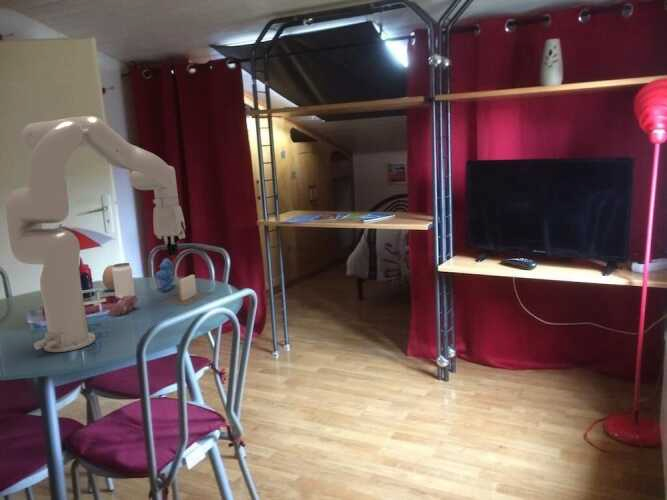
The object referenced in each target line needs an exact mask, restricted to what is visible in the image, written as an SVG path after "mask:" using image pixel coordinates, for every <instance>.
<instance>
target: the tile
mask: <svg viewBox="0 0 667 500" xmlns="http://www.w3.org/2000/svg"><path fill="white" fill-rule="evenodd" d="M195 276H196V275H195V274H190V275H188V276H185V277H183V278H180V279H178V280H177V284H178V292H179V293H178V294H179V295H180V301H184V300H186V299H188V298H190V297H192V296H194V295H196V294H197V293H196V291H197V287H196V285H197V283H196V277H195Z"/></svg>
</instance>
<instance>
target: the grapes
mask: <svg viewBox="0 0 667 500" xmlns="http://www.w3.org/2000/svg"><path fill="white" fill-rule="evenodd" d="M173 265H174V264H173V262H172V261H171V260H170V259H169V258H167V257H166V258H163V259H162V260H161V263H160V264H159V269H160V270H159V271H156V273H155V274H154V277H155V278H156V279H157V280H160V281H158V284H159V285H160V286H161V287H160V288H161V290H162V291H163V292H168V291H169V290H171V289H172V288H173V283H174V281H175V279H174V277H173V276H174V273H175V270H174V268H173V267H172V266H173Z"/></svg>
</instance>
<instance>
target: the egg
mask: <svg viewBox="0 0 667 500" xmlns="http://www.w3.org/2000/svg"><path fill="white" fill-rule="evenodd" d="M113 265H114V264H113ZM113 265H108V266H107V267H105V268H104V270H103V273H102V284H103V285H104V286H105V288H106V289H107V290H110V291H115V288H114V281H113V273H112V269H113Z"/></svg>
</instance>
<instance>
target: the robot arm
mask: <svg viewBox="0 0 667 500" xmlns="http://www.w3.org/2000/svg"><path fill="white" fill-rule="evenodd" d="M20 136H21V137H20V139H21V143H22V145H23V147H24V148H25V149H26V150H27V151H28V152H29V153H31V154H30V155H29V158H28V161H27V162H28V163H27V180H28V181H27V182H28V187H22V188H21V187H20V188H17V189H16V190H14V191H13V192H11V194H9V196H8V199H6V204H5V216H6V224H7V229H8V230H7V231H8V240H9V244H10V245H9V246H10V250H11V252H12V255H13V256H14V258H15V259H16V260H17V261H18V262H20V263H23V264H26V265H41V266H43V267H42V271H41V274H40V279H39V284H40V285H39V286H40V292H41V297H42V299H41V300H42V303H43V309H44V316H45V322H46V328H47V332H46V333H44V338H42V339H41V340H38V341H36V342H34V343H33V348H34V349H35V350H41V349H43V350H44V351H46V352H49V353H61V352H62V353H64V352H69V351H74V350H78V349H81V348H85V347H87V346H89V345H91V344H93V343H94V342H95V341H96V335H95V334H94V333H92V332H89V329H88V328H89V327H88V322H87V314H86V309H85V303H84V301H85V300H84V294H83V290H82V289H83V288H82V281H81V274H80V254H81V253H80V252H81V249H80V247H81V245H80V241H79V239H78V238H77V236H76V234H74V233H73V232H72V231H70V230H66V229H64V228H43V224H57V223H58V224H59V223H61V222H63V221H65V220H66V219H67V218H68V216H69V210H70V209H69V207H70V206H69V197H68V188H67V187H68V186H67V179H66V175H67V174H66V169H67V167H66V166H67V164H68V161H69V160H70V158H71V156H72V155H73V154H74V152H75V151H77V150H78V149H79V148H88V149H90V150H91V151H92V152H93V153H95V154H96V155H98V156H99V157H100V158H101V159H102V160H104V161H105V162H106V163H108V164H109V166H113V167H115V168H119V169H123V170H128V171H131V172H130V174H129V182H130V183H131V186H133V188H135V189H137V190H141V191H151V190H153V193H154V199H152V204H155V207H154V208H153V213H152V219H153V221H152V223H153V234H154V235H155V236H156V238H157V239H159V240H163V242H164V244H165V245H166V249H167V254H168V256H169V257H170V256H171V257H173V256H174V257H175V256H176V255H177V256H178V252H179V249H178V243H179V241H180V240H182V239H185V238H186V234H185V232H186V225H185V224H186V223H185V217H184V214H183V209H182V207H181V205H180V204H179V203H180V202H179V197H178V196H179V194H178V186H177V177H176V169H175V167H174V166H172V165H168V164H167V162H165V161H164V160H163V159H162V158H161V157H159V155H156V154H155V153H152V152H150V151H148V150H145V149H144V148H141V147H139V146H137V145H133V144H131V143H129V142H128V141H127V140H126V139H124V137H122V136H121V135H120V134H119V133H118V132H117V131H115V130H114V129H113V128H112V127H111V126H109V124H107V123H106V122H105V121H103V120H102V119H101V118H100V117H97V116H95V115H84V116H83V115H82V116H74V117H73V116H72V117H66V118H61V119H54V120H49V121H40V122H38V121H37V122H31V123H29V124H28V125H26V126H25V127H24V128H23V129H22V131H21V135H20Z"/></svg>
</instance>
